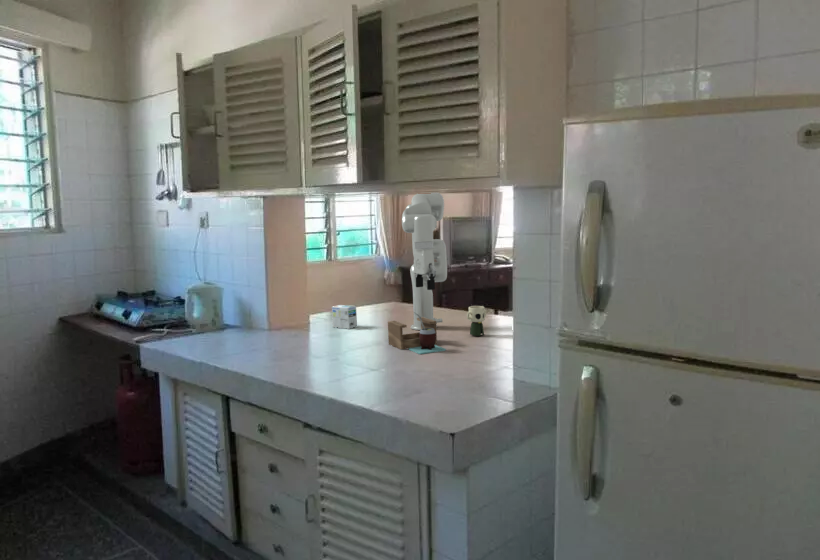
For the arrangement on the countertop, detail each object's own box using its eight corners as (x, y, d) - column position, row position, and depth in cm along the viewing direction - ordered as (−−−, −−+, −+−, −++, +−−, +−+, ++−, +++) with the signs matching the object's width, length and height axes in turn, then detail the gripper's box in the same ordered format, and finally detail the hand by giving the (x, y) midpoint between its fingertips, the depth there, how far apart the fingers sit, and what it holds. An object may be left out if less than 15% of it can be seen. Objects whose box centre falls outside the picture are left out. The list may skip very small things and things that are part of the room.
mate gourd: (439, 349, 260) (438, 312, 258) (421, 351, 257) (420, 314, 255) (431, 345, 267) (430, 310, 265) (414, 347, 264) (413, 311, 262)
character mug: (473, 338, 280) (472, 309, 279) (462, 336, 286) (462, 307, 285) (491, 335, 286) (491, 306, 285) (480, 332, 292) (480, 304, 291)
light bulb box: (357, 327, 316) (356, 305, 315) (349, 329, 311) (348, 307, 309) (340, 325, 322) (339, 304, 321) (332, 327, 316) (331, 306, 315)
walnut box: (423, 339, 282) (422, 317, 281) (436, 344, 271) (436, 321, 270) (388, 344, 274) (387, 321, 273) (400, 349, 264) (400, 325, 263)
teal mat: (433, 345, 268) (433, 344, 268) (445, 350, 260) (445, 348, 259) (408, 349, 263) (408, 348, 263) (419, 354, 254) (419, 352, 254)
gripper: (405, 245, 262) (407, 286, 264) (425, 247, 247) (427, 291, 249) (422, 244, 266) (423, 285, 268) (442, 246, 250) (443, 289, 252)
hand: (425, 288), depth 258 cm, fingers open, 9 cm apart
